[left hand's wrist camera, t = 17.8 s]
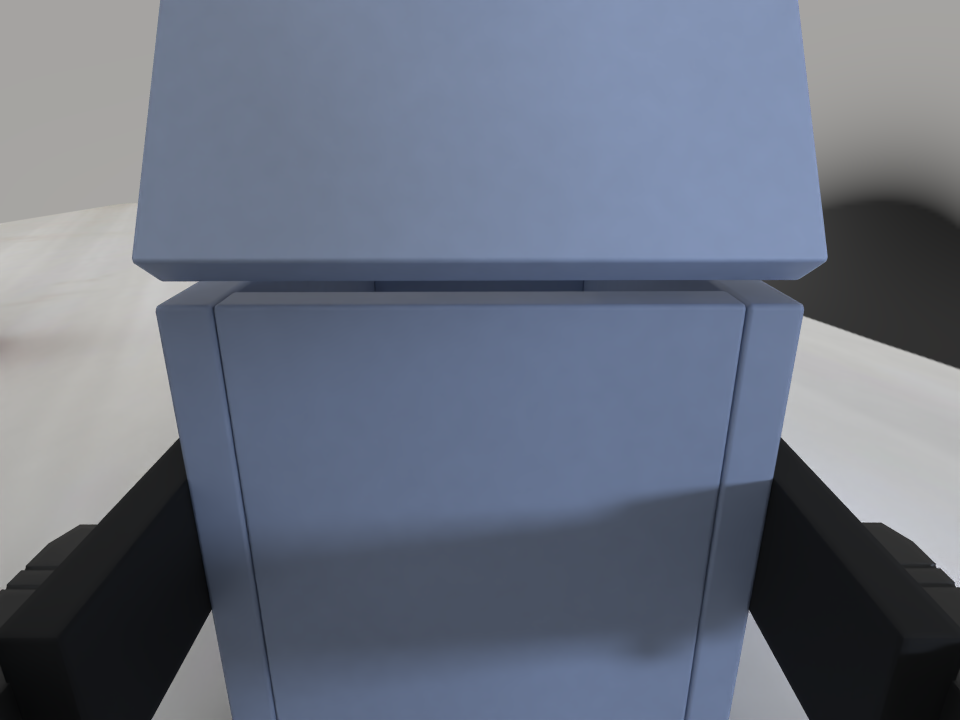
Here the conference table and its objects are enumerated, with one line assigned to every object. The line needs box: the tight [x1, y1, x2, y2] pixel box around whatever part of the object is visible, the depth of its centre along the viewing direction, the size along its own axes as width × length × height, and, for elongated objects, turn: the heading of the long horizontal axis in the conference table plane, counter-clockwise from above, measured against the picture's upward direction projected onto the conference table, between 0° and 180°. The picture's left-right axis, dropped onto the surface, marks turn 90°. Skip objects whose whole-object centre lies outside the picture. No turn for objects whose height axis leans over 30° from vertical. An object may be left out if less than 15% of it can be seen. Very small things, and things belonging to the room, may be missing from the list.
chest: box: [156, 280, 804, 720], centre depth 19 cm, size 15×10×11 cm, turn 0°
